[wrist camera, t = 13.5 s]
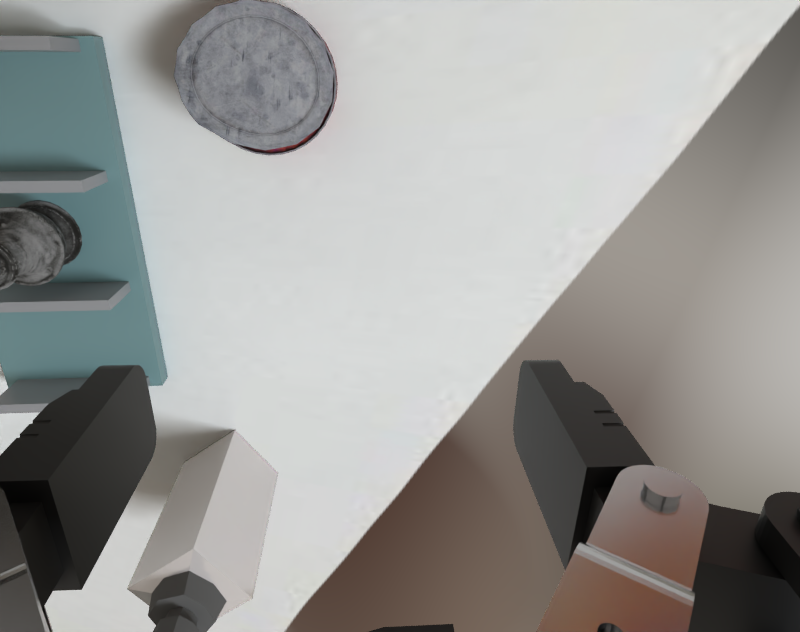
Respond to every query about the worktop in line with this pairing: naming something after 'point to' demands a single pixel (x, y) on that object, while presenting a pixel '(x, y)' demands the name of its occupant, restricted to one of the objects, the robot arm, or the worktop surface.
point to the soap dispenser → (207, 538)
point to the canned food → (257, 76)
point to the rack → (93, 212)
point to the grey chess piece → (36, 243)
